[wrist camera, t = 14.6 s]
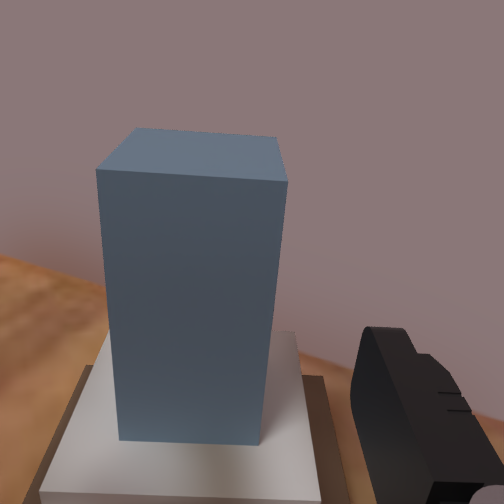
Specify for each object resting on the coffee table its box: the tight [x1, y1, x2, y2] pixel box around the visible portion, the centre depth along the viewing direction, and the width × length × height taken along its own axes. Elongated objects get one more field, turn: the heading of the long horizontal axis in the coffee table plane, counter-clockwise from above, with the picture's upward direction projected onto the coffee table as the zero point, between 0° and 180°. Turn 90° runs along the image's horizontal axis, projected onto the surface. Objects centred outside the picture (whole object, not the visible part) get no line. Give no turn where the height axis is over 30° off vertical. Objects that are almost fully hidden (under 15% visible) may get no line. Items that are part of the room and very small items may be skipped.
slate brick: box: [96, 128, 288, 446], centre depth 16 cm, size 5×5×10 cm
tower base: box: [22, 330, 350, 504], centre depth 21 cm, size 14×14×8 cm
